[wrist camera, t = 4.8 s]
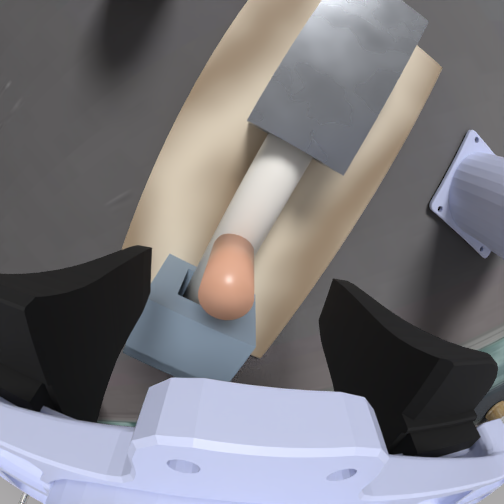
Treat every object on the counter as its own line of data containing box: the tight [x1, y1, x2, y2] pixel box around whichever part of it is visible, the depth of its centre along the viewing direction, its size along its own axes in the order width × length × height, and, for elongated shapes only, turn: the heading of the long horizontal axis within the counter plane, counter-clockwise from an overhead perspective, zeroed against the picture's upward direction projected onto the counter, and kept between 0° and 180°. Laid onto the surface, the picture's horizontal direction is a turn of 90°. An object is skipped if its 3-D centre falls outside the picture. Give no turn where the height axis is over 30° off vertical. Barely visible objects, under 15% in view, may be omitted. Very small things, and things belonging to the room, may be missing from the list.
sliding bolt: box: [182, 133, 313, 320], centre depth 15 cm, size 3×18×7 cm, turn 152°
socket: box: [123, 254, 256, 382], centre depth 20 cm, size 7×5×6 cm
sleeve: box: [247, 0, 429, 176], centre depth 14 cm, size 5×11×5 cm, turn 152°
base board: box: [122, 0, 442, 358], centre depth 19 cm, size 14×28×1 cm, turn 152°
